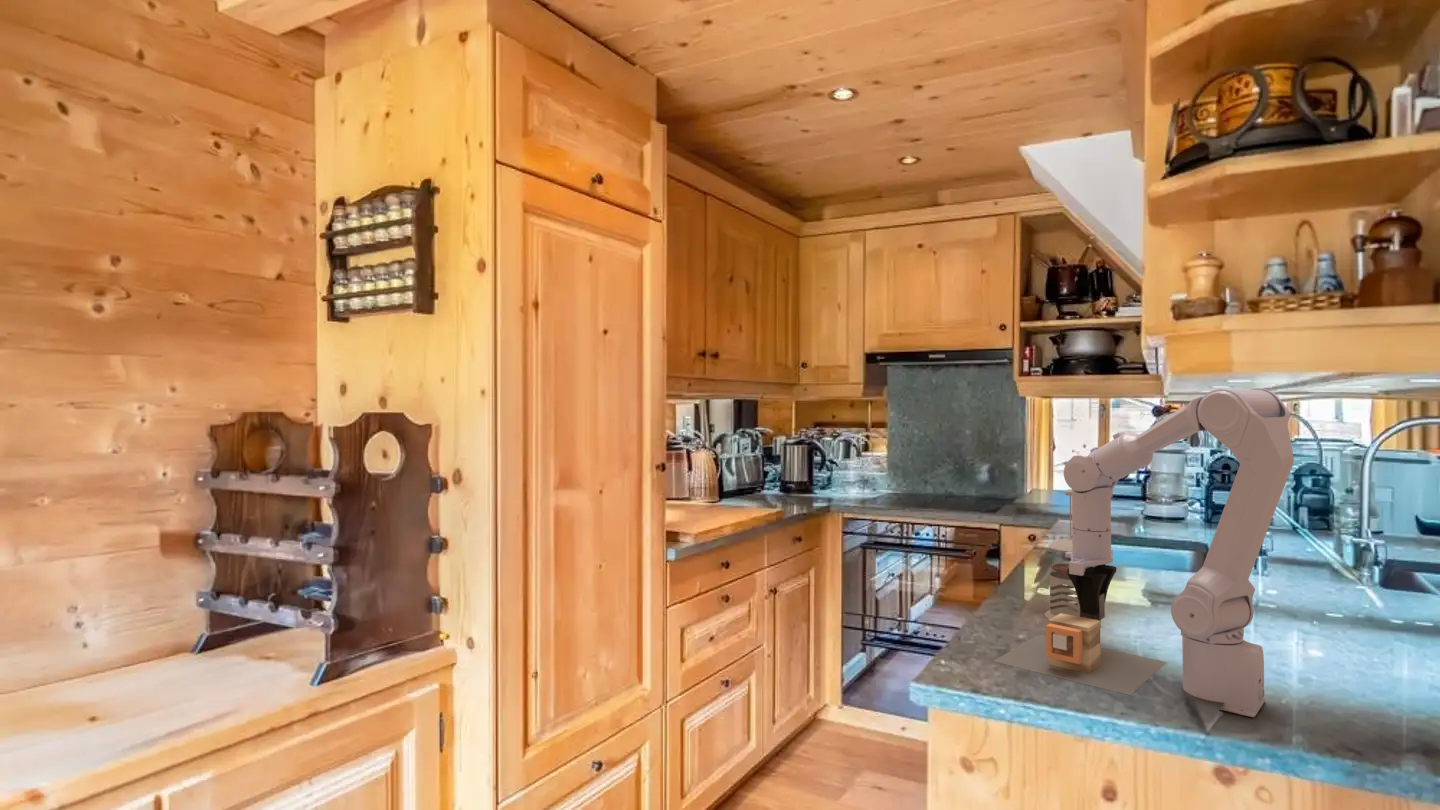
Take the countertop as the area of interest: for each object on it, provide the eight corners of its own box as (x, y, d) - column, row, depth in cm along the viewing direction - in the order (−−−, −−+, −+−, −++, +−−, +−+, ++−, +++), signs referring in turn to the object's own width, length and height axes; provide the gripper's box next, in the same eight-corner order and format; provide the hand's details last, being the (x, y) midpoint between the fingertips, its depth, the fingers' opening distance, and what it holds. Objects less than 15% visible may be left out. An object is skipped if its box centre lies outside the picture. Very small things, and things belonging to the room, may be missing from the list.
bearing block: (1100, 665, 116) (1100, 620, 116) (1089, 674, 113) (1088, 627, 113) (1061, 656, 120) (1060, 613, 120) (1048, 664, 117) (1048, 620, 117)
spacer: (1082, 661, 112) (1082, 629, 112) (1078, 664, 111) (1078, 632, 111) (1050, 654, 116) (1049, 623, 116) (1046, 656, 115) (1046, 625, 115)
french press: (1062, 607, 152) (1061, 485, 152) (1119, 621, 142) (1118, 490, 142) (1033, 615, 146) (1032, 488, 146) (1090, 630, 137) (1089, 494, 136)
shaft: (1104, 627, 122) (1104, 592, 122) (1070, 651, 111) (1069, 612, 111) (1085, 624, 124) (1085, 589, 124) (1049, 646, 113) (1049, 608, 113)
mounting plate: (1166, 668, 117) (1166, 661, 117) (1130, 702, 105) (1130, 695, 105) (1038, 640, 131) (1038, 634, 131) (993, 667, 119) (992, 661, 119)
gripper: (1081, 520, 130) (1082, 598, 130) (1049, 531, 120) (1050, 616, 120) (1125, 525, 125) (1126, 605, 125) (1095, 537, 115) (1096, 625, 115)
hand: (1092, 611), depth 122 cm, fingers closed on shaft, 2 cm apart
